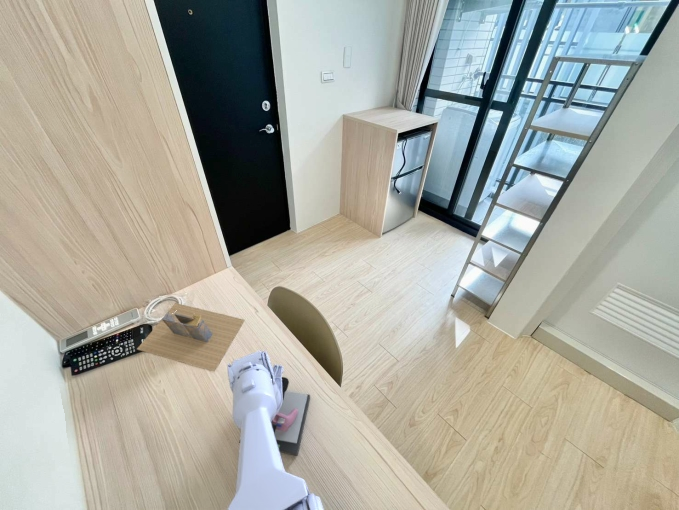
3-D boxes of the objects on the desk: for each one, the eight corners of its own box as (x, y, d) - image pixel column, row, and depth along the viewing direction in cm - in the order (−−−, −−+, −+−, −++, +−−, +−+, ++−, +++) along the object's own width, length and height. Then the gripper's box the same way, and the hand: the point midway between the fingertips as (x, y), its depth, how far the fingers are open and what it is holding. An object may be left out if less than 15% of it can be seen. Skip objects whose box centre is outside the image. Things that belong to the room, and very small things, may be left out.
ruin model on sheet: (245, 319, 83) (236, 300, 76) (214, 371, 72) (201, 354, 65) (175, 303, 88) (161, 283, 81) (136, 349, 76) (116, 331, 69)
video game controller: (256, 413, 63) (241, 419, 57) (263, 393, 65) (251, 396, 58) (293, 430, 61) (283, 438, 54) (300, 409, 62) (291, 414, 56)
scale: (297, 456, 59) (296, 453, 57) (241, 444, 60) (238, 442, 58) (310, 397, 67) (309, 393, 65) (260, 388, 68) (258, 384, 67)
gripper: (256, 352, 57) (268, 378, 66) (225, 432, 46) (244, 449, 56) (289, 358, 56) (296, 383, 65) (264, 440, 45) (277, 456, 55)
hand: (274, 414), depth 60 cm, fingers closed on video game controller, 6 cm apart
